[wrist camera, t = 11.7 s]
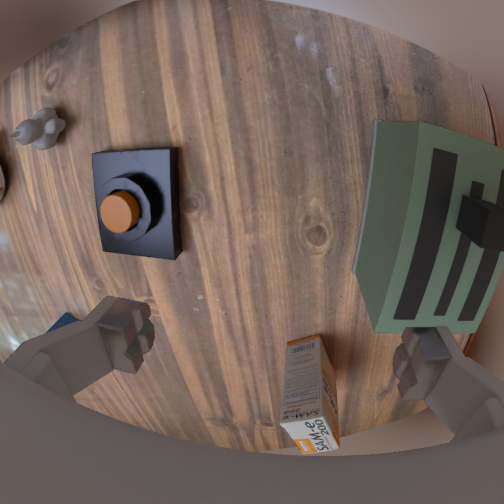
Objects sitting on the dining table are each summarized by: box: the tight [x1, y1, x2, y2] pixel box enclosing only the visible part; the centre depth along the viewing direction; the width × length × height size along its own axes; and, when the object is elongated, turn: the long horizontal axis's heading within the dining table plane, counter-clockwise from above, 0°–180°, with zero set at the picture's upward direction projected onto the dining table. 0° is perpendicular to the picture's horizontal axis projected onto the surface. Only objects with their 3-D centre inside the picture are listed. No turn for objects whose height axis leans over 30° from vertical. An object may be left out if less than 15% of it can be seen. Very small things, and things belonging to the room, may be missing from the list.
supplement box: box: [279, 334, 340, 454], centre depth 31 cm, size 8×5×13 cm, turn 25°
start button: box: [100, 191, 140, 233], centre depth 27 cm, size 4×4×2 cm
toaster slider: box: [456, 195, 504, 252], centre depth 14 cm, size 2×3×4 cm
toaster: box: [352, 119, 504, 333], centre depth 22 cm, size 16×11×11 cm
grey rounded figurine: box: [10, 108, 65, 150], centre depth 25 cm, size 5×7×8 cm
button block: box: [92, 147, 182, 260], centre depth 29 cm, size 12×10×4 cm
